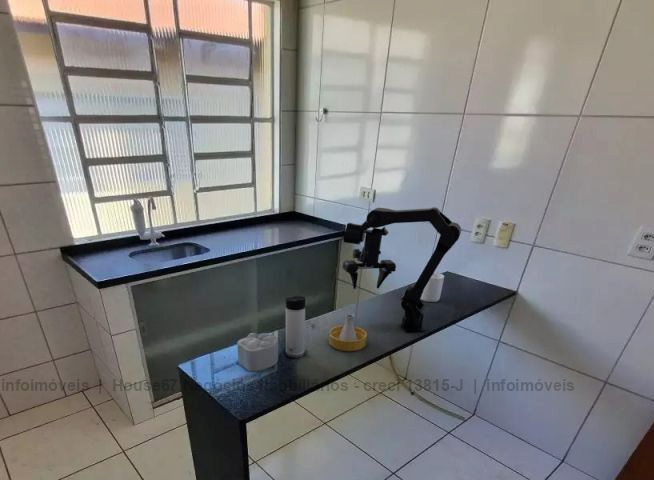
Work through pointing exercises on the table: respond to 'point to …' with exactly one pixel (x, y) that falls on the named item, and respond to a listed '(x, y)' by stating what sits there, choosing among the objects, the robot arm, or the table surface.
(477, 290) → the table surface
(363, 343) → the bowl
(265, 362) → the lumpy-topped squat cylinder
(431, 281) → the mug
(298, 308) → the travel mug
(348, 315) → the flask
